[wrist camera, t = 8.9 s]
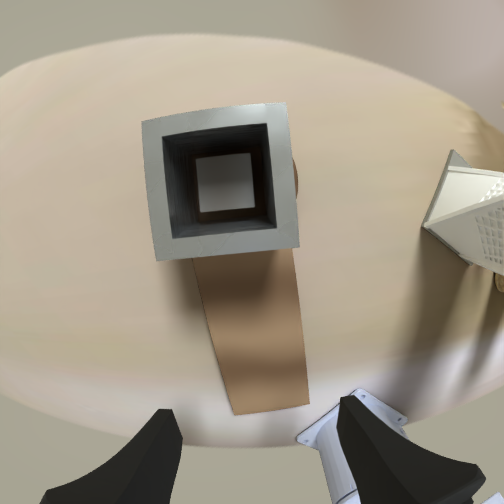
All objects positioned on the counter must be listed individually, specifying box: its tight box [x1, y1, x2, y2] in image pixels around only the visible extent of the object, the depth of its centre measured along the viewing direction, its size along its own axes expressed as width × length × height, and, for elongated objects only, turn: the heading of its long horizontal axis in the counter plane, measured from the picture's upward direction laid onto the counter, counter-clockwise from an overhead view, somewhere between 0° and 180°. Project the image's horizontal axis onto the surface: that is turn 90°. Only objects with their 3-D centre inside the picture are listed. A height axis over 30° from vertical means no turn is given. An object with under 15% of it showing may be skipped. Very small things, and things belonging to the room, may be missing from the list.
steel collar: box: [142, 102, 300, 261], centre depth 13 cm, size 6×6×6 cm
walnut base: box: [192, 147, 310, 415], centre depth 17 cm, size 21×8×4 cm, turn 10°
